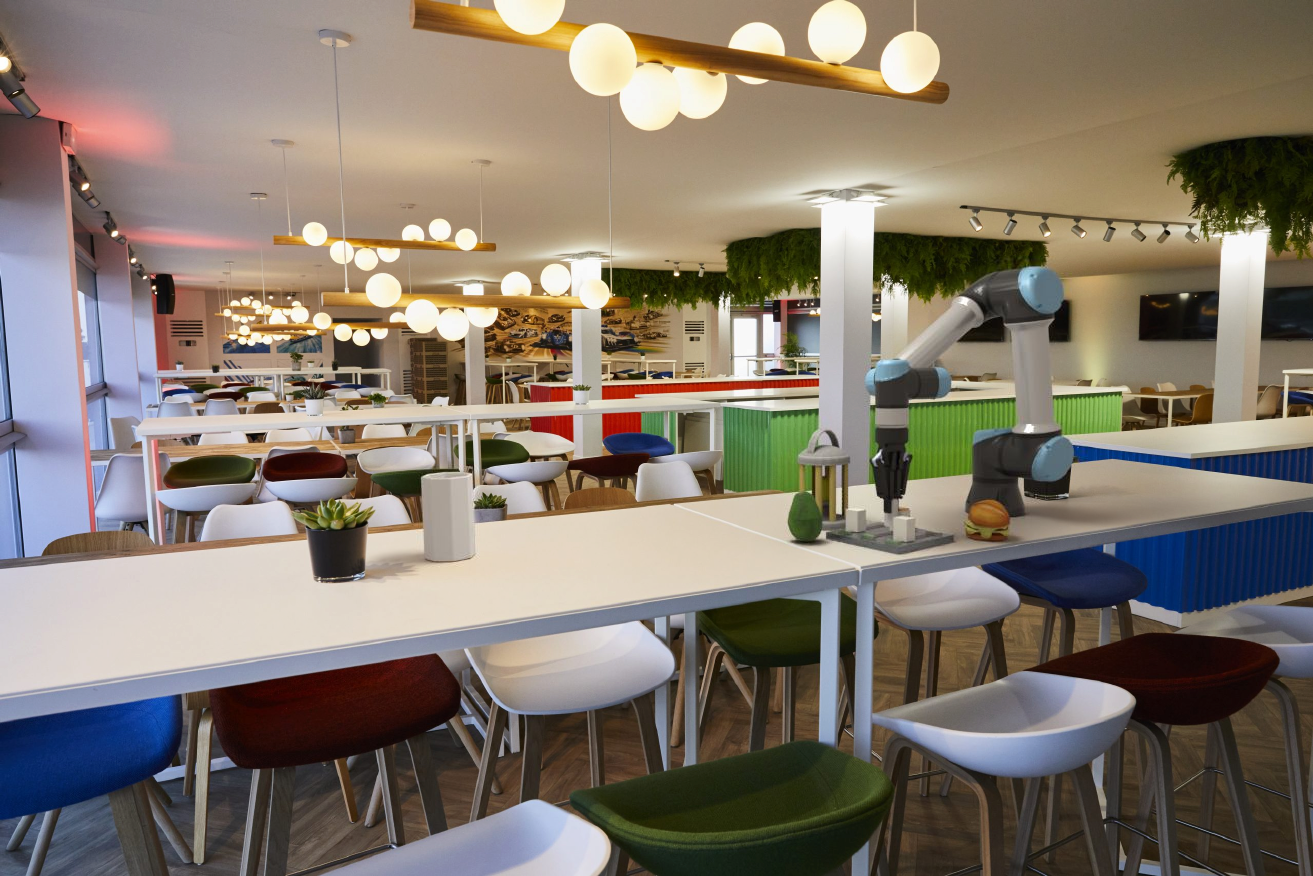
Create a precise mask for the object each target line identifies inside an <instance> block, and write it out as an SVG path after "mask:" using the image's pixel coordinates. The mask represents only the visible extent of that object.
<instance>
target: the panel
mask: <svg viewBox="0 0 1313 876" xmlns="http://www.w3.org/2000/svg"><path fill="white" fill-rule="evenodd" d="M825 539H826V540H830V541H835V542H838V543H844V544H848V545H852V546H857V547H862V548H865V549H866V548H867V549H871V550H877V551H881V552H885V553H889V554H896V555H901V554H906V553H910V552H914V551H918V550H922V549H923V550H924V549H928V548H932V547H937V546H940V545H945V544H949V543H954V542H955V534H951V533H945V532H942V531H938V530H931V529H924V528H919V527H916V526H915V540H913V541H909V542H904V541H899V540H894V539H893V531H891V530H890V527H887V526H884V521H881V520H880V521H877V522H873V523H866V531H861V532H854V531H849V530H846V528H845V529H838V530H832V531H826V532H825Z"/></svg>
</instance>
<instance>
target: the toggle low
mask: <svg viewBox="0 0 1313 876" xmlns="http://www.w3.org/2000/svg"><path fill="white" fill-rule="evenodd" d="M866 524H867V510H866V509H862V508H858V507H857V508H855V507H852V508H848V509H846V530H849V531H854V532H861V531H866Z"/></svg>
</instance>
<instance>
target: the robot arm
mask: <svg viewBox="0 0 1313 876" xmlns="http://www.w3.org/2000/svg"><path fill="white" fill-rule="evenodd" d="M1064 291H1065V290H1064V286H1063V283H1062V280H1061V278H1060V276H1059V275H1058V274H1057V273H1055V271H1054V270H1053V269H1051V268H1050V267H1047V266H1042V265H1041V266H1027V267H1022V268H1016V269H1008V270H1000V271H994V272H991V273H989V274H986V275H984V276H983V277H981V278H980V279H977V280H976V281H975V282H973V283H972V284H970V285H969V286H968V287H967V288H965V289H964V290H963V291H962V292H960V293H959V294H958V295H957V296H956V297H955V298H954V299H953V300H952V301H951V304H950V306H951V307H949V308H948V309H947V310H946V311H945V312H944V313H943V314H942V315H941V316H939V317H938V318H937V319H936V320H935V321H934V322H932V324H931V325H929V326H928V327H927V328H926V329H925V330H924V331H922V333H920V334H919V335H918V336H917V337H915V338H914V340H912V341H911V342H910V343H909V344H908V345H907V346H906V347H905V348H903V349H902V351H900V352H899V353H898V354H897V355H896V356H895V357H893V359H881V360H880V359H879V361H878V360H877V362H876V363H875V368H871V369H870V370H869V371H868V372H867V374H866V376H865V378H864V379H865V380H864V385H865V388H866V391H867V393H868V394H869V395H870V396H873V397H874V398H875V399H874V400H875V401H874V407H875V411H874V412H875V413H874V414H875V418H874V419H875V421H874V422H875V423H874V424H875V426H876V427H875V428H874V442H875V443H876V444H877V445H878V447H877V449H876V455H875V456H874V457H869V463H870V465H871V467H872V474H873V479H874V480H873V481H874V486H875V487H874V488H875V491H876V496H877V497H878V498H879V499H882V500H883V513H884V514H883V515H884V517H883V518H884V520H883V522H884V526H887V527H893V518H894V517H898V510H899V507H900V506H899V503H900V500H902V499H903V498H904V496H905V495H906V492H907V485H908V480H909V479H908V478H909V472H910V466H911V462H912V461H913V458H914V457H913V456H914V455H913V454H911V453H907V449H906V445H905V444H907V443H909V428H908V425H909V424H910V417H909V416H910V409H909V407H910V405H909V404H910V401H911V400H934V401H935V400H936V399H942V398H945V397H947V396H948V394H949V393H950V391H951V389H952V376H951V374H950V373H949V371H948V370H947V369H945V368H944V367H939V366H938V367H935V366H931V365H932V364H933V363H934V362H936V361H937V360H938V359H939V358H940V357H941V356H942V355H944V354H945V353H946V352H947V351H948V350H949V349H950V348H951V347H952V346H954V345H955V344H956V342H958V341H959V340H960V339H961V338H962V337H963V336H964V335H965V334H967V332H969V331H970V330H971V329H972V328H978V327H980V326H981V325H982V324H983V323H985V322H986V321H988V320H990V319H995V318H998V317H1001V318H1003V325H1004V326H1005V327H1006V328H1007V329H1009V331H1010V338H1011V350H1012V351H1011V352H1012V364H1013V375H1014V376H1013V379H1014V392H1015V394H1014V395H1015V406H1016V416H1017V417H1016V420H1017V423H1016V424H1015V425H1014V426H1013V427H1002V428H989V429H987V428H986V429H978V430H976V431H975V432H974V434H973V437H972V445H971V447H972V448H971V449H972V451H971V452H972V456H971V457H972V458H971V459H972V464H971V465H972V467H971V469H972V473H971V474H972V480H971V481H972V482H971V486H970V489H969V492H968V495H967V497H966V500H965V502H964V503H965V504H964V509H965V510H964V511H965V512H966V513H968V514H969V509H970V508H971V506H972V505H973V504H974V503H977V502H980V501H984V500H994V501H997V502H999V503H1000V504H1002V505H1003V507H1004V508H1005V510H1006V511H1007V513H1008V515H1009V518H1010V517H1018V516H1022V515H1026V514H1025V512H1026V511H1025V510H1026V508H1025V507H1026V506H1025V501H1024V499H1023V496H1022V493H1021V490H1020V487H1019V478H1020V479H1027V480H1034V481H1037V482H1056V481H1058V480H1060V479H1062V478H1063V477H1064V476H1065V475H1066V474H1068V473H1067V472H1068V471H1069V470H1070V469H1071V466H1072V464H1073V461H1074V455H1075V449H1074V446H1073V443H1072V442H1071V441H1070V439H1069V438H1067V437H1065V436H1063V431H1062V426H1061V425H1060V423H1057V422H1056V420H1055V415H1054V413H1055V412H1054V411H1055V410H1054V396H1053V381H1052V365H1051V354H1050V353H1051V351H1050V348H1051V347H1050V337H1049V336H1050V335H1049V327H1050V325H1051V324H1052V322H1053V321H1054V320H1055V312H1057V311H1058V310H1059V309H1060V308H1061V306H1062V303H1064V302H1063V301H1064V297H1065V293H1064Z"/></svg>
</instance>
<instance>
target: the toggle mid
mask: <svg viewBox="0 0 1313 876" xmlns="http://www.w3.org/2000/svg"><path fill="white" fill-rule="evenodd" d="M899 516H906V517H911V509H910V508H908V507H902V506H899V510H898V517H899ZM890 530H891V531H893V527H890Z"/></svg>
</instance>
